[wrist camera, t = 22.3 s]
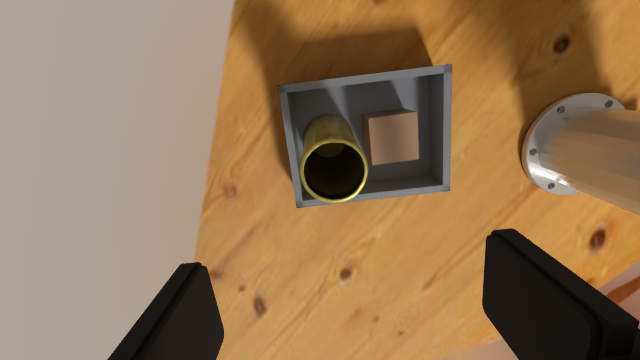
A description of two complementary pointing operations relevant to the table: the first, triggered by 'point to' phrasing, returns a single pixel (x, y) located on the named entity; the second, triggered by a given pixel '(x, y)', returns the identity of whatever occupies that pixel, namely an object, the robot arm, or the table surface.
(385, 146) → the walnut cube
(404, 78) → the tote
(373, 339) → the table surface
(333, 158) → the vase
